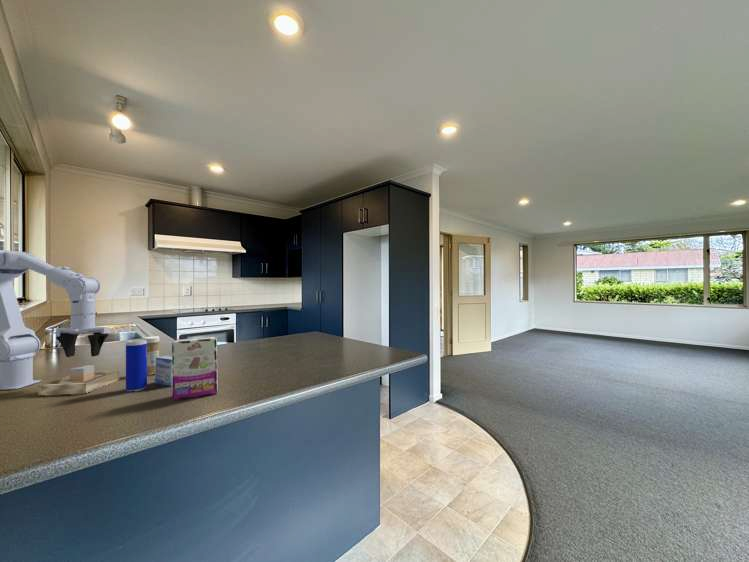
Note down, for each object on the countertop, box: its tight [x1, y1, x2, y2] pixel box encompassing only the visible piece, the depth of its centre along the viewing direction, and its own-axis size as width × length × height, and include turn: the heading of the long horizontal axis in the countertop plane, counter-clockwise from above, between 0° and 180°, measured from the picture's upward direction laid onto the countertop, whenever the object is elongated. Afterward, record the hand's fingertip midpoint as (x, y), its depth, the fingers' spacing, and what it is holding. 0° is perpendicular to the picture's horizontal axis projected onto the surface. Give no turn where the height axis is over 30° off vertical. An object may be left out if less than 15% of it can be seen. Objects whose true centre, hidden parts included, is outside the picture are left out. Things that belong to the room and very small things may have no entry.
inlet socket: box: [59, 375, 103, 384], centre depth 96 cm, size 7×7×2 cm
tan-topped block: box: [69, 364, 95, 381], centre depth 96 cm, size 4×4×6 cm
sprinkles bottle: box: [143, 335, 160, 376], centre depth 110 cm, size 5×5×14 cm
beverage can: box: [125, 339, 148, 393], centre depth 94 cm, size 5×5×15 cm
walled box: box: [37, 370, 120, 397], centre depth 96 cm, size 13×13×3 cm
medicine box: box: [154, 354, 173, 387], centre depth 99 cm, size 8×4×9 cm, turn 68°
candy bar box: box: [171, 335, 219, 401], centre depth 89 cm, size 11×5×16 cm, turn 115°
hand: (82, 356), depth 99 cm, fingers open, 7 cm apart
